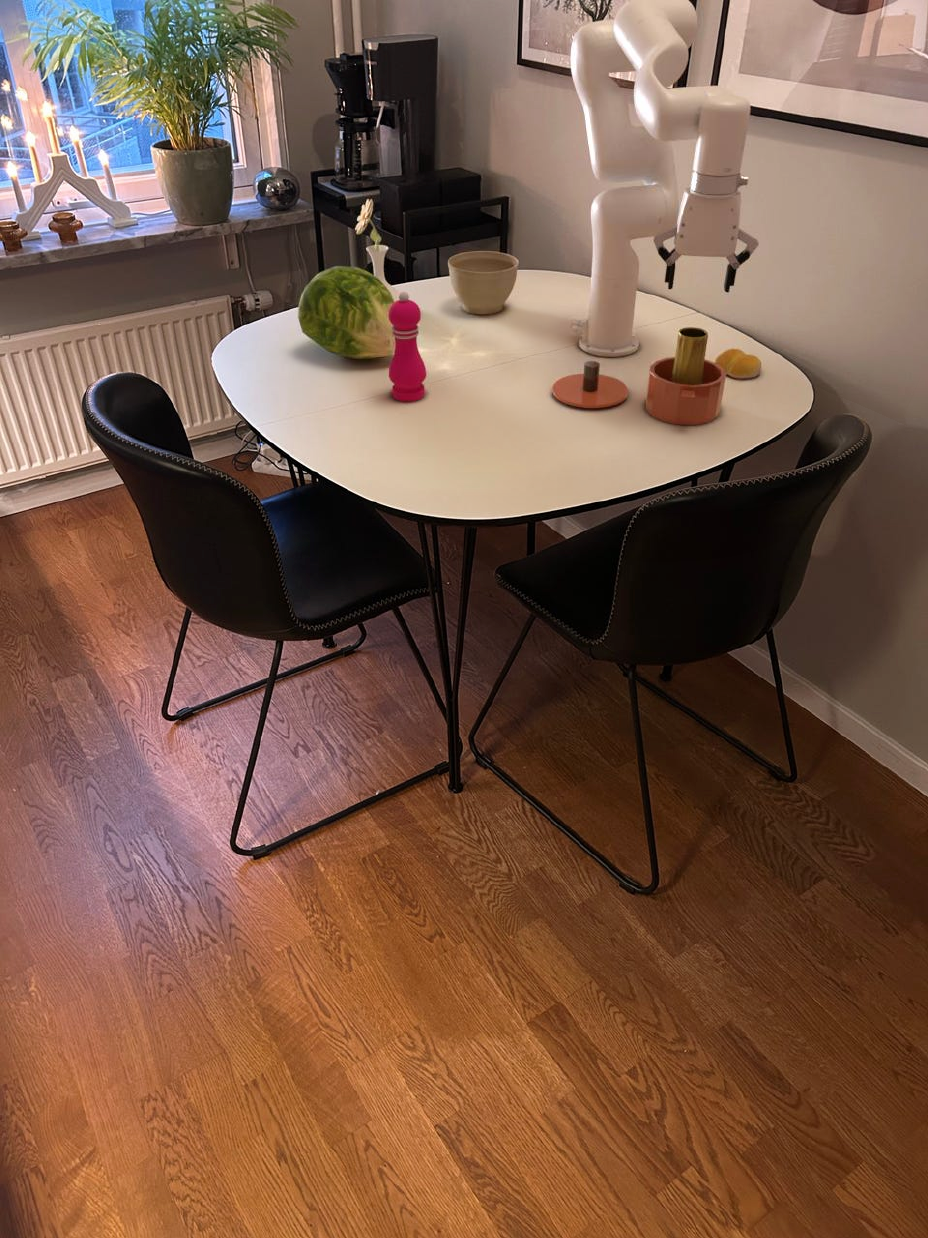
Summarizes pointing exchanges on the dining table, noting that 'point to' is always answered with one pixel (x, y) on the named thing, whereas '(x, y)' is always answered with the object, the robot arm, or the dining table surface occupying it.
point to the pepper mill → (406, 351)
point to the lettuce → (348, 313)
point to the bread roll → (739, 364)
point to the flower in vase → (375, 247)
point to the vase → (689, 356)
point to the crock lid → (590, 388)
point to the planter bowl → (483, 279)
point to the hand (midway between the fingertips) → (698, 288)
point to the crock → (684, 394)
